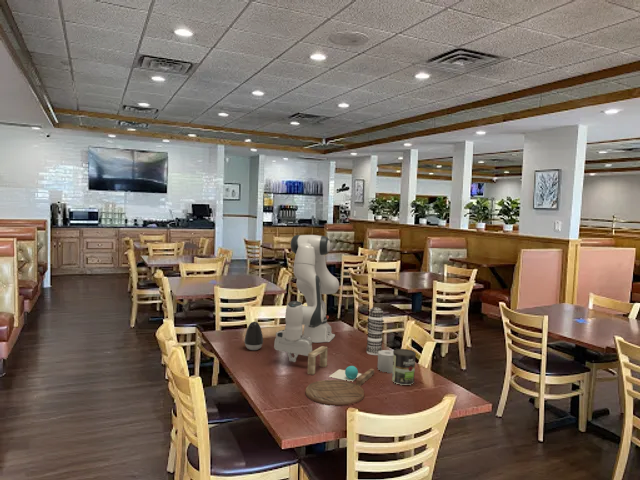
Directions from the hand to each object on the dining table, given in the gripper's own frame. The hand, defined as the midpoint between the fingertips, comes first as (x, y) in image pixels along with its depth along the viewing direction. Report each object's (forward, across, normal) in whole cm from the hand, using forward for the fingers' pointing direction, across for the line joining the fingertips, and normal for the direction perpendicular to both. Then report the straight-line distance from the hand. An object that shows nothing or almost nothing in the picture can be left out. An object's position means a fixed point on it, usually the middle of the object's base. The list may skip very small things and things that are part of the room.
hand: (292, 361), depth 240 cm
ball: (-1, -33, +2) cm, 33 cm away
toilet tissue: (+2, -44, -18) cm, 48 cm away
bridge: (+2, -14, 0) cm, 14 cm away
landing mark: (+2, -29, 0) cm, 29 cm away
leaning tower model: (+2, -28, -42) cm, 51 cm away
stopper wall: (+2, -39, 0) cm, 39 cm away
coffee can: (+2, -55, -7) cm, 55 cm away
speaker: (+2, +31, -11) cm, 33 cm away
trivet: (+2, -34, +23) cm, 41 cm away
